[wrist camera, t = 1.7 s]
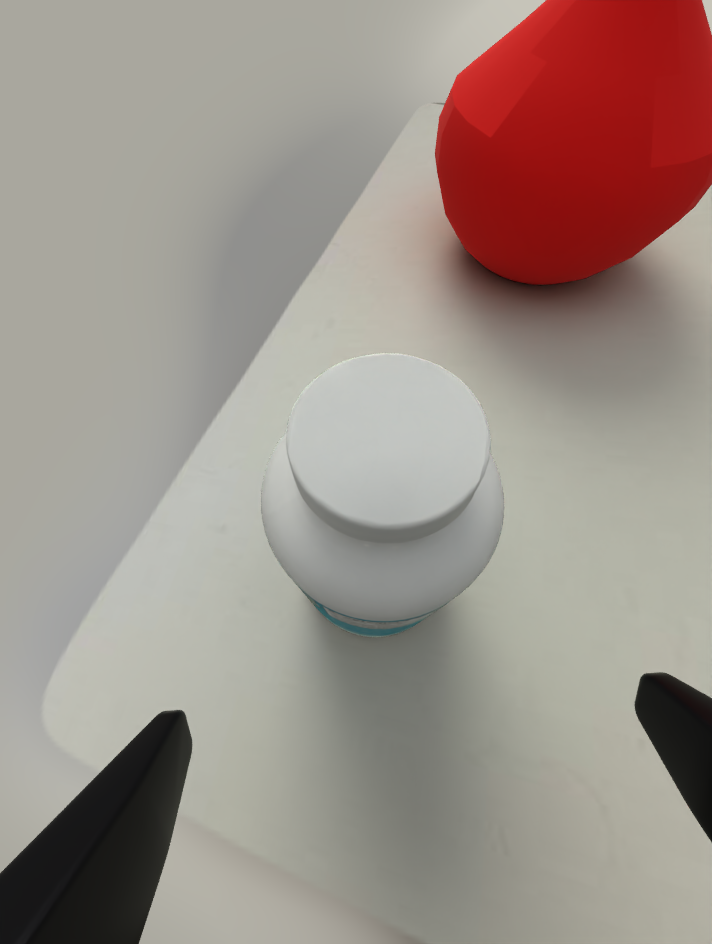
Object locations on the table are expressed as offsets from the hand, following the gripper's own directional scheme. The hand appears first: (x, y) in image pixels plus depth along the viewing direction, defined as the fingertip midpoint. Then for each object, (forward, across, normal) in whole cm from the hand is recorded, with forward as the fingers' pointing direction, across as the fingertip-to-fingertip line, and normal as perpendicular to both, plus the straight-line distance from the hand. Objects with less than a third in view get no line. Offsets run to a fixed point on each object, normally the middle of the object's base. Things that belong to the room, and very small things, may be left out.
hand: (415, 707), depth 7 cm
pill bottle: (+12, 0, +5) cm, 13 cm away
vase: (+31, -16, -14) cm, 38 cm away
